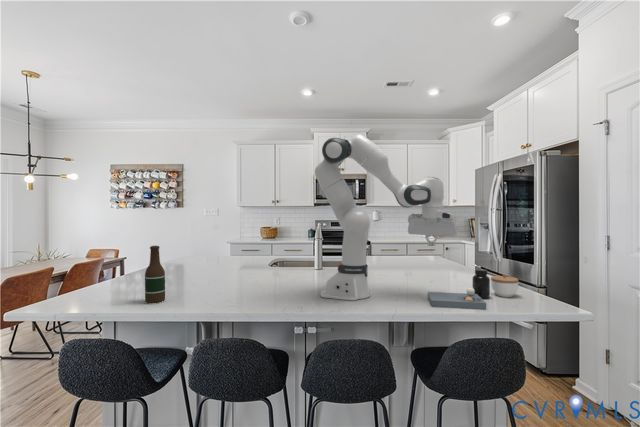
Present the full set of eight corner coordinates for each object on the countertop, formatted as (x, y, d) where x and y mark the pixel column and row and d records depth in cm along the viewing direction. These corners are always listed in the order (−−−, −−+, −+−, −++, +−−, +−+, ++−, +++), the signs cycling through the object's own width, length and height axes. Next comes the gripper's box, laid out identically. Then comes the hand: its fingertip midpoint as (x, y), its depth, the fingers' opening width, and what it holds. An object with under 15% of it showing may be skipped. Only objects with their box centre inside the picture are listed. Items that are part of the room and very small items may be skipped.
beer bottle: (169, 300, 141) (168, 245, 141) (153, 305, 134) (152, 247, 134) (156, 298, 144) (156, 244, 144) (140, 302, 137) (140, 246, 137)
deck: (431, 306, 128) (431, 300, 128) (427, 297, 142) (427, 291, 142) (486, 309, 124) (486, 302, 124) (476, 299, 138) (476, 293, 138)
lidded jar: (492, 297, 142) (492, 276, 142) (489, 291, 152) (489, 271, 152) (520, 299, 138) (520, 277, 138) (516, 293, 148) (516, 273, 148)
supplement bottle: (492, 299, 138) (491, 271, 138) (474, 298, 139) (474, 271, 139) (487, 295, 145) (486, 268, 145) (470, 294, 146) (470, 268, 146)
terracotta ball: (463, 299, 129) (472, 302, 127) (466, 294, 131) (475, 297, 129) (463, 304, 131) (471, 308, 129) (466, 299, 133) (474, 303, 131)
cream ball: (467, 295, 135) (467, 288, 135) (465, 293, 138) (465, 286, 138) (475, 296, 134) (475, 288, 134) (473, 294, 137) (473, 286, 137)
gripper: (406, 213, 144) (405, 244, 144) (456, 215, 135) (455, 248, 135) (409, 213, 149) (408, 243, 149) (457, 215, 141) (456, 246, 141)
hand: (431, 245), depth 142 cm, fingers closed
